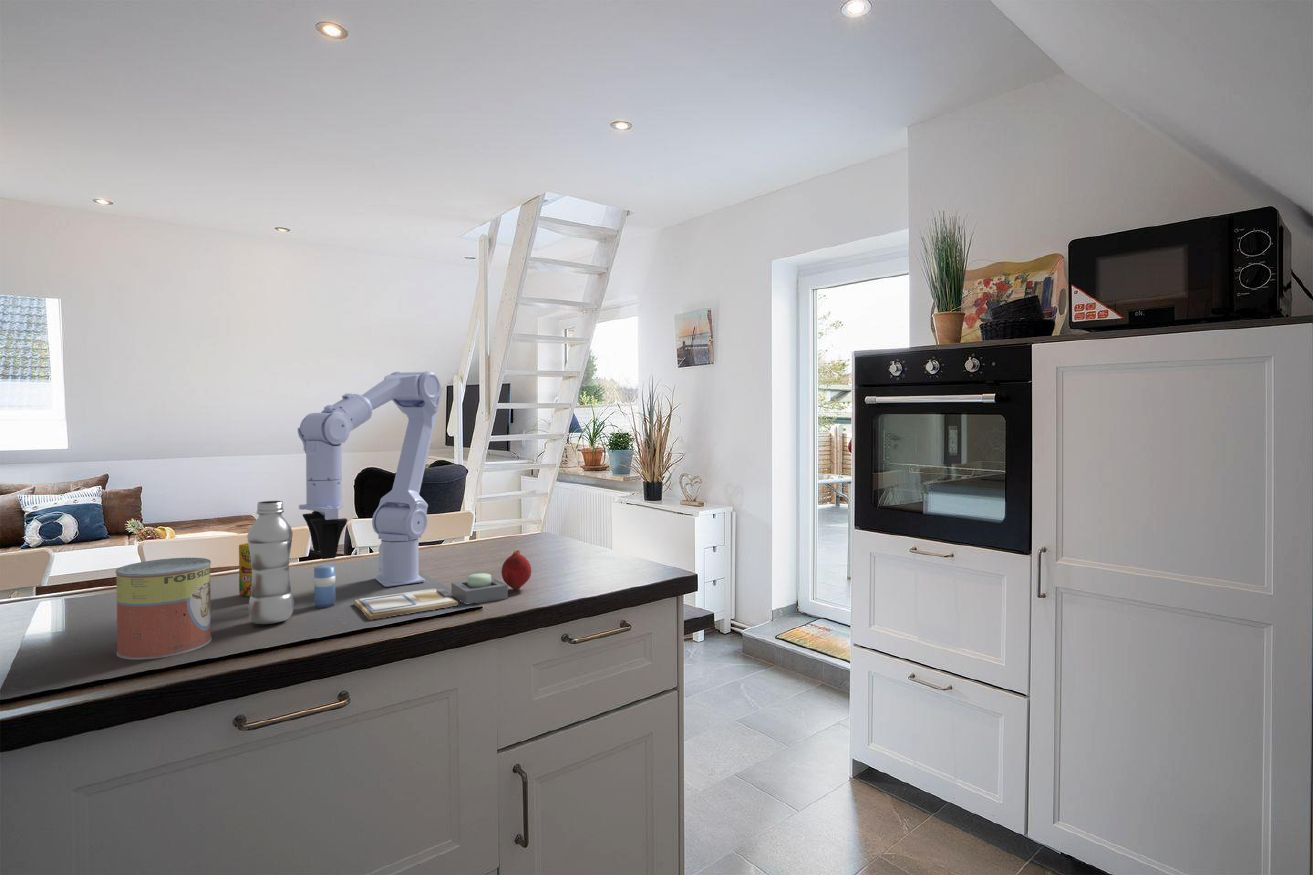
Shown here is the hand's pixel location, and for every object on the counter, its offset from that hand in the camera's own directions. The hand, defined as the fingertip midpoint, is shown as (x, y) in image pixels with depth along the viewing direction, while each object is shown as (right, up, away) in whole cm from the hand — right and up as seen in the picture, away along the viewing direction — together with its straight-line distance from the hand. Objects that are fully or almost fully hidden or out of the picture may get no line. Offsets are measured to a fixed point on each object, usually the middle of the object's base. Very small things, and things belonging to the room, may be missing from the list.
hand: (324, 554), depth 119 cm
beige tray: (+14, -9, +1) cm, 17 cm away
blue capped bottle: (0, -9, 0) cm, 9 cm away
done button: (+26, -7, +7) cm, 28 cm away
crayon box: (-16, -9, +6) cm, 19 cm away
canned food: (-13, -10, -21) cm, 27 cm away
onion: (+32, -9, +12) cm, 35 cm away
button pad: (+26, -9, +7) cm, 28 cm away
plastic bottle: (-4, -10, -10) cm, 14 cm away
